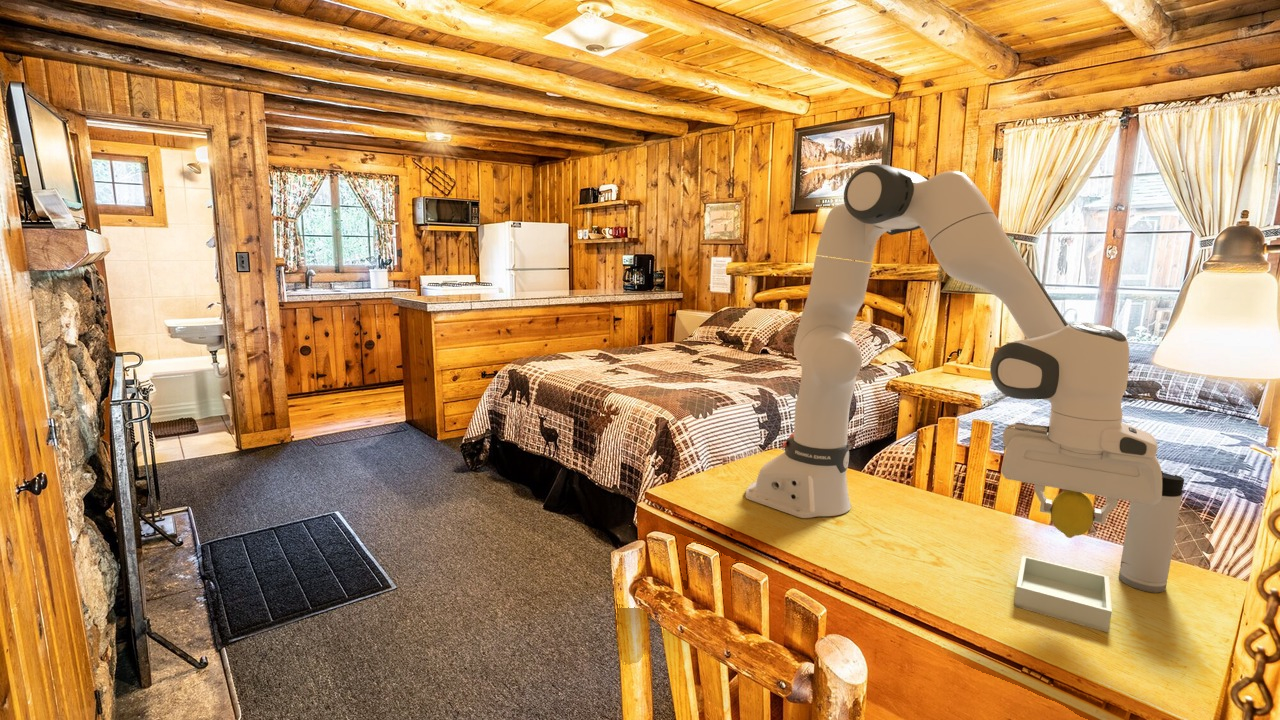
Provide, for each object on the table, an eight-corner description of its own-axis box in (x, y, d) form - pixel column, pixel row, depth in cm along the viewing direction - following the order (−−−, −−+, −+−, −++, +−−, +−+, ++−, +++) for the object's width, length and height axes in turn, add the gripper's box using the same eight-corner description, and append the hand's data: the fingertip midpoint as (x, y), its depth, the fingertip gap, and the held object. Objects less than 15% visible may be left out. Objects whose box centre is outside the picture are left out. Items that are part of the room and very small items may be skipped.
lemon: (1097, 547, 96) (1104, 497, 94) (1056, 543, 97) (1063, 494, 95) (1080, 531, 101) (1086, 484, 100) (1041, 528, 102) (1047, 481, 101)
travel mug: (1109, 578, 107) (1126, 466, 104) (1132, 570, 110) (1149, 461, 106) (1150, 597, 102) (1170, 479, 98) (1174, 588, 105) (1194, 473, 101)
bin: (1014, 606, 99) (1016, 586, 99) (1020, 573, 109) (1022, 555, 108) (1108, 632, 93) (1111, 611, 92) (1105, 595, 102) (1108, 576, 102)
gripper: (1002, 425, 99) (993, 508, 101) (1171, 449, 88) (1156, 541, 90) (1006, 416, 104) (997, 495, 107) (1166, 437, 93) (1152, 525, 95)
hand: (1071, 516), depth 98 cm, fingers closed on lemon, 5 cm apart
